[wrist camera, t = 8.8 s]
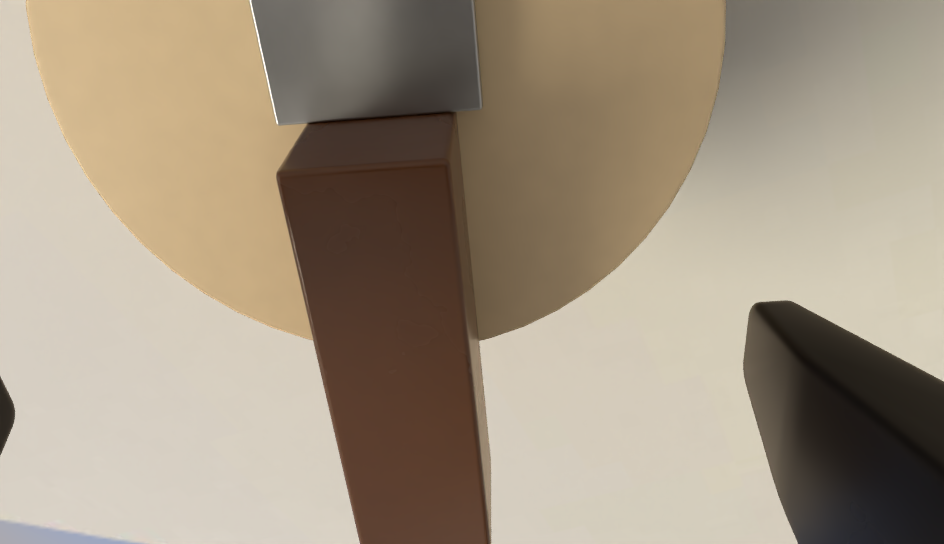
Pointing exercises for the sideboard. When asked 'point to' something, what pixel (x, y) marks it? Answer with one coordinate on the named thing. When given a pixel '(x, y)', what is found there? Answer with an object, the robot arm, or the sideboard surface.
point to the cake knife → (387, 250)
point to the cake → (480, 133)
